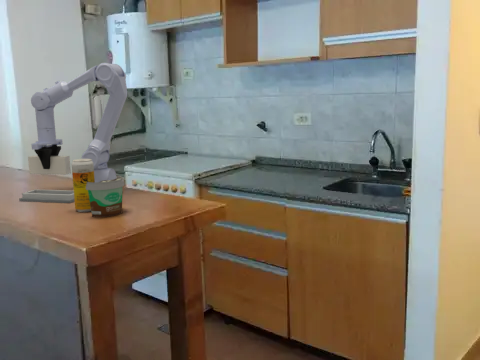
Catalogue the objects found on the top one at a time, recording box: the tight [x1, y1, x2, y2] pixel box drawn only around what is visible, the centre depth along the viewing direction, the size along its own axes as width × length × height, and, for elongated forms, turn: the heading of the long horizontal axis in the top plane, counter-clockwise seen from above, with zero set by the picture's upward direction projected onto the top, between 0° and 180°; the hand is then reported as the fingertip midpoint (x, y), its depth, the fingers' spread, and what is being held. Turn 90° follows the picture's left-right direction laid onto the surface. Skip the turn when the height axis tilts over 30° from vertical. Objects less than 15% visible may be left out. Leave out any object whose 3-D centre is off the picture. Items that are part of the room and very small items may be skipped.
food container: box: [86, 175, 126, 218], centre depth 140 cm, size 12×6×10 cm, turn 148°
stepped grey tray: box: [18, 188, 75, 204], centre depth 161 cm, size 18×9×2 cm, turn 77°
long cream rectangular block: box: [27, 155, 72, 176], centre depth 169 cm, size 14×3×6 cm, turn 77°
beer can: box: [71, 158, 95, 213], centre depth 144 cm, size 6×6×15 cm
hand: (49, 168), depth 169 cm, fingers closed on long cream rectangular block, 3 cm apart
